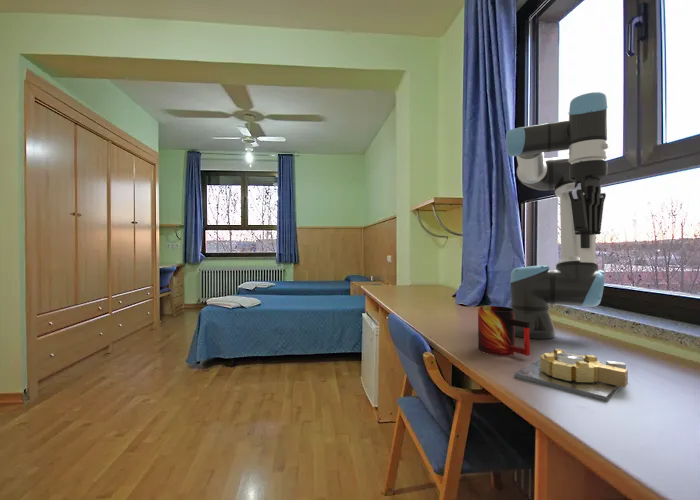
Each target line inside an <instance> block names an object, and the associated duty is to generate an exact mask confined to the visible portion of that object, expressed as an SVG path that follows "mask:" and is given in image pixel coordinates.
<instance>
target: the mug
mask: <svg viewBox="0 0 700 500" xmlns="http://www.w3.org/2000/svg"><path fill="white" fill-rule="evenodd" d="M515 326H519V327H524V337H523V347H521V346H518V345H515V344H516V343H515V342H516V340H515V338H516V336H515ZM477 339H478V340H477V341H478V342H477V347H478V349H479V350H480V351H479V350H478V349H477V350H478V351H479V352H481V351H482V352H481V353H483V352H485V353H484V354H486V353H488V355H491V354H492V355H493V356H503V357H504V356H506V357H507V356H512V355H514V354H515V353H517V354H521V355H524V356H530V355H531V340H530V338H529V322H528V321H522V320H517V319H515V310H514V309H512V308H511V307H508V306H507V307H506V306H501V305H498V306H497V305H483V306H478V308H477Z"/></svg>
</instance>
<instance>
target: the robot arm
mask: <svg viewBox="0 0 700 500" xmlns="http://www.w3.org/2000/svg"><path fill="white" fill-rule="evenodd" d="M608 109H609V105H608V98H607V94H605V93H603V92H599V91H597V92H589V93H588V92H587V93H583V94H581V95H580V94H579V95H577V96H576V97H573V99H571V100H570V101H569V103H568V112H567V115H568V120H560V121H556V122H555V121H553V122H549V123H542V124H534V125H528V126H519V127H516V128H512V129H509V130H507V131H506V133H505V136H506V137H505V150H506V155H507V156H508V157H516V160H517V168H516V175H517V178H518V180H519V181H520V183H521V184H522V185H524V186H527V187H528V188H531V189H532V190H533V189H534V190H537V191H554V194H555V195H556V196H557V197H558V198H559V203H560V204H559V208H560V209H559V210H560V211H559V213H560V215H559V216H560V218H559V219H560V260H559V262H557V263H556V265H555V269H550V267H549V265H548V264H547V265H546V264H543V265H542V264H541V265H530V266H522V267H516V268H513V269H512V270H511V273H510V281H509V282H510V308H512V309H514V310H515V319H517V320H522V321H528V322H529V339H534V340H535V339H536V340H537V339H538V340H542V339H543V340H544V339H545V340H546V339H552V338H555V337H556V328H555V326H554V323H553V321H552V318H551V315H550V305H555V306H556V305H557V306H569V307H570V306H572V307H573V306H574V307H581V308H583V307H598V306H599V305H600V304H601V301H602V298H603V294H604V289H605V280H606V279H605V277H606V276H605V274H606V273H605V271H604V270H602V269H599V264H598V263H597V260H596V259H597V258H596V256H597V255H596V254H597V253H596V251H597V248H596V246H597V245H596V241H597V235H601V234H602V232H601V230H602V221H603V212H604V204H605V200H606V195H607V194H606V193H605V192H602V188H601V184H600V183H601V182H600V180H601V179H605V178H606V177H608V161H606V159H607V158H608V148H609V147H610V144H609V143H608ZM567 150H568V156H559V157H550V158H545V153H550V152H551V153H552V152H559V151H567ZM515 337H520V338H524V327H519V326H515Z"/></svg>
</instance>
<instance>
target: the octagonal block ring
mask: <svg viewBox="0 0 700 500" xmlns="http://www.w3.org/2000/svg"><path fill="white" fill-rule="evenodd" d="M558 353H566V352H565V350H563V349H562V348H554V349H553V351H548V352H545V353H543V354H541V355H539V356H540V358H539V360H540V369H541V370H542V371H543V372H545V373H546V374H548V375H552V377H556V378H560V379H564V380H568V381H572V380H574V381H575V382H594V381H596V382H598V381H600V382H604V383H608V384H612V385H617V386H620V388H626V387H627V386H628V384H629V375H628V374H629V369H627V368H626V369H623V368H618V367H613V366H608V365H606V364H604V363H602V361H599V360H598V357H597V356H596V355H593V354H584V355H583V354H578V353H575V354H576V355H579V356H582V357H583V361H576V364H568V363H563V362H559V361H557V354H558ZM569 353H570V354H574V353H573V352H569Z"/></svg>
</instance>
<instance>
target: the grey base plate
mask: <svg viewBox="0 0 700 500" xmlns="http://www.w3.org/2000/svg"><path fill="white" fill-rule="evenodd" d="M570 353H571V352H568V353H567V352H565V353H558V354H557V361H559V362H563V363H568V364H576V361H583V357H582V356H579V355H580V354H578V355H576V354H577V353H573V354H570ZM605 365H608V366H613V367H618V368H623V369H627V364H626V363H625V362H623V361H611V360H605ZM514 378H516V379H519V380H522V381H526V382H529V383H533V384H537V385H541V386H544V387H549V388H553V389H556V390H559V391H563V392H567V393H570V394H574V395H578V396H581V397H586V398H588V399H593V400H597V401H601V402H604V403H607V402H609V400H610V399H611V398H612V396H614V394H615V393H616V392H617V391H619V389H620V388H621V386H617V385H612V384H608V383H604V382H600V381H598V382H596V381H594V382H575V381H574V380H572V381H568V380H564V379H560V378H556V377H552V375H548V374H546V373H545V372H543V371H542V370H541V369H540V359H538V360H537V361H535V362H533V363H531V364H529V365H527V366H525V367H524V368H522V369H520V370H518V371H517V372H515V373H514Z"/></svg>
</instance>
